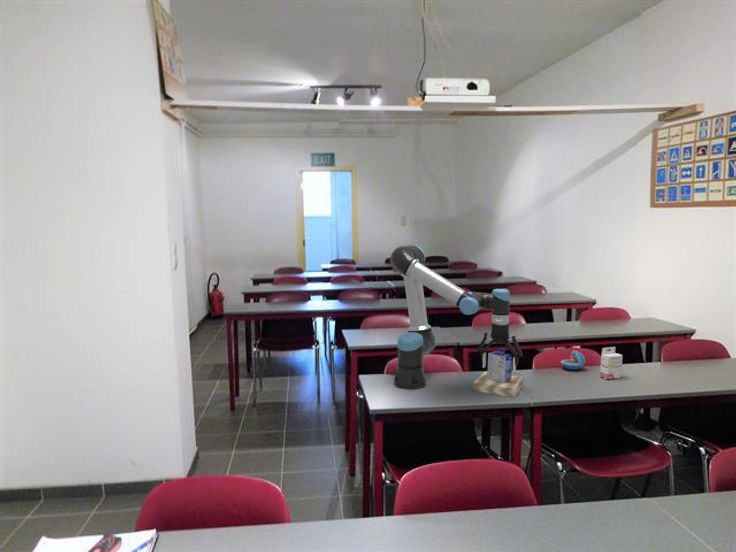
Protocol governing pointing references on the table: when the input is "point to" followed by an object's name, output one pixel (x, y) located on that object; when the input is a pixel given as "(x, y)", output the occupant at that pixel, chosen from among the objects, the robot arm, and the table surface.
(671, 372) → the table surface
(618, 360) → the ink cartridge box
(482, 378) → the birch base
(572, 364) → the cell model
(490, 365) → the ink cartridge box
